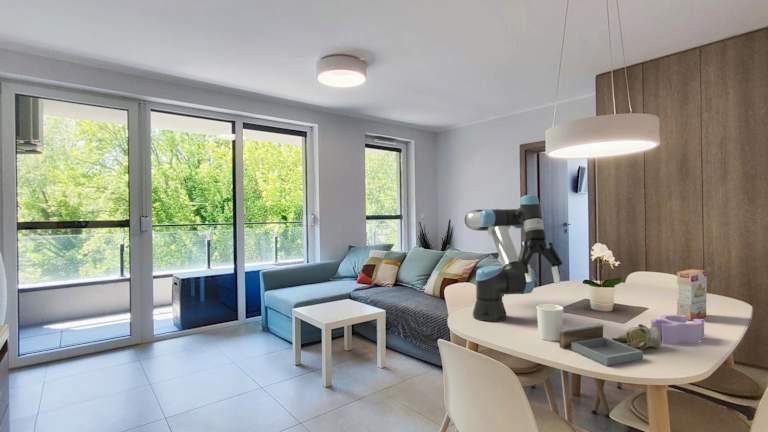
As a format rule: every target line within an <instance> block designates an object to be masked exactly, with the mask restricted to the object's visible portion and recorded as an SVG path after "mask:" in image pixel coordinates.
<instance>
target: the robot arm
mask: <svg viewBox="0 0 768 432" xmlns="http://www.w3.org/2000/svg"><path fill="white" fill-rule="evenodd" d="M519 205H520V206H519V208H515V209H513V208H509V209H507V208H506V209H503V208H501V209H500V208H495V209H493V208H492V209H486V208H485V209H474V210H471V211H469V212H467V213H466V214H465V216H464V225H465V226H466V227H467V228H469V229H470V230H473V231H478V232H482V231H483V232H484V231H486V233H487V234H488V235H489V236H490V237H491V238H492V240H493V243H494V245H495V246H494V247H495V248H496V251H497V254H498V257H499V260H500V263H501V266H499V265H487V266H484V267H480V268H478V269H477V270H476V272H475V273H476V274H475V285H476V287H475V289H476V290H475V293H476V295H475V296H476V298H475V299H476V301H475V304H474V307H473V311H472V317H473V316H474V317H476V318H478V319H482V320H488V321H487V322H501V321H500V320H502V321H505V320H506V319H507V310H506V308H505V304H504V302H503V295H524V294H525V295H526V294H527V295H528V294H531V293H533V290H534V288H535V284H536V276H535V272H534V270H533V268H531V265H530V264H529V263H530V261H531V259H532V257H533V255H535V254H540V255H542V256H543V257H544V258H545V259H546V260H547V261H548V262H549V264H550V265H551V273H552V277H553V282H554V284H559V283H561V282H562V281H561V277H560V274H561V272H560V266H561V265H563V261H562V259H561V258H560V256H559V255H558V253H557V251H556V249H555V248H554V245H553V242H548V243H547V242H546V238H547V237H546V232H545V226H544V221H543V217H542V216H543V215H542V210H541V204H540V201H539V197H538V196H537V195H535V194H528V195H524V196H521V198H519ZM511 227H513V228H515V229H522V228H523V229H524V232H525V240H524V241H521V242H520V243H521V244H520V245H521V248H520V251H519V254H518V252H517V249H516V248H515V245H514V243H513V240H512V237H511V236H510V232H509V231H510V228H511ZM474 317H473V318H474ZM478 319H477V320H478ZM504 319H505V320H504ZM482 320H481V321H482Z"/></svg>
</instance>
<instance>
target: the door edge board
mask: <svg viewBox="0 0 768 432" xmlns="http://www.w3.org/2000/svg"><path fill="white" fill-rule="evenodd" d="M602 337H604V325H603V324H601V323H593V324H584V325H578V326H570V327H564V328H561V329H559V339H560V340H559V348H561V349H563V350H565V349H571V342H576V341H582V340H589V339H596V338H602Z"/></svg>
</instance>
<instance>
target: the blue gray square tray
mask: <svg viewBox="0 0 768 432" xmlns="http://www.w3.org/2000/svg"><path fill="white" fill-rule="evenodd" d="M570 349H571V351H572V352H574V353H576V354H578V355H580V356H583V357H584V358H587V359H590V360H592V361H594V362H597V363H599V364H601V365H603V366H605V367H606V368H607V367H613V366H619V365H624V364H629V363H635V362H640V361H641V362H642V361H644V351H643V350H642V349H641V350H638V349H635V348H633V347H631V345H627V344H624V343H619V342H617V341H614V340H612V338H611V339H610V338H608V337H606V336H605V337H604V336H603V337H602V338H596V339H589V340H582V341H576V342H571V348H570Z"/></svg>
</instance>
